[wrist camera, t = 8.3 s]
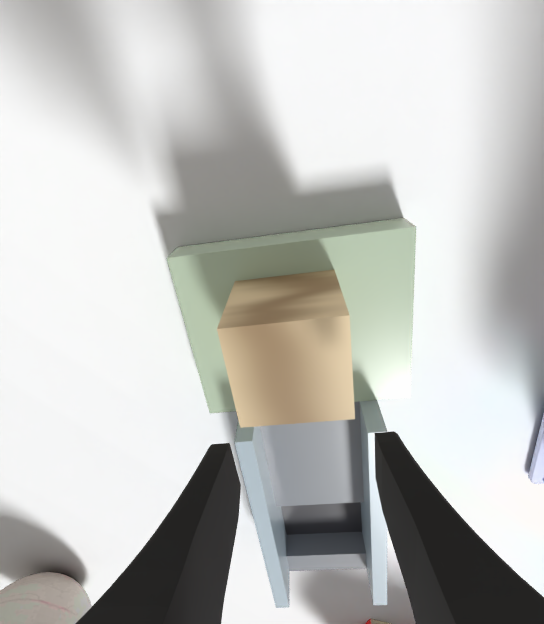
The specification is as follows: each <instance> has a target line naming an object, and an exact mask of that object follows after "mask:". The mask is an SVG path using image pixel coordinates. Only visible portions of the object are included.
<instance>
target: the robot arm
mask: <svg viewBox="0 0 544 624" xmlns="http://www.w3.org/2000/svg"><path fill="white" fill-rule="evenodd" d="M374 434H375V478H376V483H377V488H378V493H379V497H380V502H381V507H382V511H383V515H384V518H385V521H386V524H387V528H388V531H389V534H390V537H391V540H392V544H393V547H394V550H395V553H396V556H397V559H398V563H399V566H400V569H401V572H402V575H403V579H404V582H405V585H406V588H407V591H408V595H409V598H410V602H411V606H412V609H413V613H414V618H415V622H416V624H544V597H543V596H542V595H540V594H539V593H538V592H537V591H536V590H535V589H534V588H533V587H531V586H530V585H529V584H528V583H527V582H526V581H525V580H523V579H522V578H521V577H520V576H519V575H518V574H517V573H516V572H515V571H514V570H513V569H512V568H511V567H510V566H509V565H507V564H506V563H505V562H504V561H503V560H502V559H501V558H500V557H499V556H498V555H497V554H496V553H495V552H494V551H493V550H492V549H491V548H490V547H489V546H488V545H487V544H486V543H485V542H484V541H483V540H482V539H481V538H480V537H479V536H478V535H477V534H476V533H475V532H474V530H473V529H472V528H471V527H470V526H469V525H468V524H467V523H466V522H465V521H464V520H463V518H462V517H461V516H460V515H459V514H458V513H457V512H456V511H455V509H454V508H453V507H452V506H451V505H450V504H449V503H448V501H447V500H446V499H445V498H444V497H443V495H442V494H441V493H440V492H439V491H438V489H437V488H436V487H435V486H434V484H433V483H432V482H431V481H430V479H429V478H428V477H427V476H426V474H425V473H424V472H423V470H422V469H421V468H420V466H419V465H418V464H417V462H416V461H415V460H414V458H413V457H412V455H411V454H410V452H409V451H408V450H407V448H406V447H405V445H404V444H403V442H402V441H401V439H400V437H399V436H398V434H397V433H395V432H382V433H374ZM528 477H529V479H530V480H531V482H532V483H535V484H542V483H544V414H543V418H542V422H541V426H540V430H539V434H538V438H537V442H536V446H535V451H534V455H533V459H532V463H531V467H530V471H529V475H528ZM240 487H241V485H240V481H239V477H238V474H237V470H236V466H235V462H234V458H233V454H232V451H231V447H230V443H226V444H212V445H211V446H210V447H209V448H208V450H207V452H206V454H205V456H204V457H203V459H202V461H201V463H200V464H199V466H198V468H197V469H196V471H195V473H194V474H193V476H192V478H191V479H190V481H189V483H188V484H187V486H186V487H185V489H184V490H183V492H182V494H181V495H180V497H179V498H178V500H177V501H176V503H175V504H174V506H173V507H172V509H171V510H170V512H169V513H168V515H167V516H166V517H165V519H164V520H163V522H162V523H161V524H160V526H159V527H158V529H157V530H156V532H155V533H154V534H153V536H152V537H151V538H150V540H149V541H148V542H147V544H146V545H145V546H144V547H143V549H142V550H141V551H140V552H139V554H138V555H137V556H136V557H135V559H134V560H133V561H132V562H131V564H130V565H129V566H128V567H127V568H126V569H125V571H124V572H123V573H122V574H121V575H120V576H119V577H118V579H117V580H116V581H115V582H114V583H113V584H112V586H111V587H110V588H109V589H108V590H107V591H106V592H105V593H104V594H103V596H102V597H101V598H100V599H99V600H98V601H97V602H96V603H95V604H94V605H93V606H92V607H91V608H90V609H89V610H88V611H87V612H86V613H85V614H84V615H83V616H82V617H81V618H80V619H79V620H78V621H77V622H76V623H75V624H221V618H222V610H223V603H224V596H225V591H226V585H227V579H228V574H229V568H230V563H231V557H232V552H233V546H234V540H235V535H236V529H237V523H238V516H239V503H240Z"/></svg>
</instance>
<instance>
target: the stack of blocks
mask: <svg viewBox="0 0 544 624" xmlns="http://www.w3.org/2000/svg"><path fill="white" fill-rule="evenodd" d="M366 624H391V623H387V622H383V621H379V620H375V619H369V620H368V621H367V623H366Z"/></svg>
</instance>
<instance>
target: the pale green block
mask: <svg viewBox="0 0 544 624" xmlns="http://www.w3.org/2000/svg"><path fill="white" fill-rule="evenodd" d="M415 243H416V226H414V225H413V224H412V223H410V222H409V221H407V220H406V219H405V218H398V219H390V220H383V221H375V222H367V223H359V224H352V225H344V226H336V227H329V228H321V229H313V230H305V231H298V232H290V233H282V234H274V235H267V236H259V237H251V238H243V239H236V240H228V241H220V242H212V243H205V244H197V245H189V246H181V247H177V248H176V249H175V250H174V251H173V252H172V253H171V254H170V255H169V256H168V257H167V262H168V265H169V269H170V272H171V276H172V280H173V283H174V287H175V290H176V294H177V298H178V301H179V305H180V308H181V312H182V315H183V319H184V323H185V326H186V330H187V333H188V337H189V340H190V344H191V348H192V351H193V355H194V358H195V362H196V365H197V369H198V373H199V376H200V380H201V383H202V387H203V390H204V394H205V398H206V401H207V405H208V408H209V412H210V413H220V412H233V411H236V408H235V404H234V399H233V395H232V391H231V387H230V382H229V378H228V374H227V370H226V366H225V361H224V357H223V353H222V349H221V345H220V340H219V336H218V332H217V327H218V325H219V322H220V319H221V317H222V314H223V311H224V309H225V306H226V303H227V301H228V298H229V295H230V293H231V290H232V287H233V285H234V282H235V281H241V280H249V279H258V278H266V277H275V276H283V275H292V274H300V273H309V272H317V271H326V270H335V273H336V276H337V279H338V282H339V285H340V288H341V291H342V294H343V297H344V300H345V303H346V306H347V309H348V312H349V315H350V331H351V350H352V370H353V389H354V408H355V419H350V420H337V421H323V422H310V423H297V424H283V425H270V426H257V427H243V428H240V425H239V420H238V425H237V431H236V437H235V442H234V443H235V447H236V451H237V454H238V458H239V462H240V466H241V470H242V474H243V478H244V482H245V486H246V490H247V494H248V498H249V502H250V506H251V510H252V514H253V518H254V522H255V526H256V530H257V534H258V538H259V542H260V546H261V550H262V553H263V557H264V561H265V565H266V569H267V573H268V577H269V581H270V585H271V589H272V593H273V597H274V601H275V605H276V608H281V607H289V571H304V570H335V569H365V568H367V573H368V578H369V584H370V589H371V595H372V601H373V605H387V524H386V521H385V518H384V515H383V511H382V507H381V502H380V497H379V493H378V488H377V483H376V478H375V434H374V433H382V432H387V429H386V426H385V423H384V420H383V417H382V414H381V411H380V408H379V405H378V402H377V400H384V399H396V398H409V397H410V386H411V358H412V329H413V300H414V272H415Z"/></svg>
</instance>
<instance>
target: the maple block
mask: <svg viewBox="0 0 544 624" xmlns="http://www.w3.org/2000/svg"><path fill="white" fill-rule="evenodd" d="M217 332H218V336H219V340H220V345H221V349H222V353H223V357H224V361H225V366H226V370H227V374H228V378H229V382H230V387H231V391H232V395H233V399H234V404H235V408H236V412H237V416H238V420H239V425H240V428H243V427H257V426H270V425H283V424H297V423H310V422H323V421H337V420H350V419H355V408H354V389H353V370H352V350H351V331H350V315H349V312H348V309H347V306H346V303H345V300H344V297H343V294H342V291H341V288H340V285H339V282H338V279H337V276H336V273H335V270H326V271H317V272H309V273H300V274H292V275H283V276H275V277H266V278H258V279H249V280H241V281H235V282H234V285H233V287H232V290H231V293H230V295H229V298H228V301H227V303H226V306H225V309H224V311H223V314H222V317H221V319H220V322H219V325H218V327H217Z"/></svg>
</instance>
